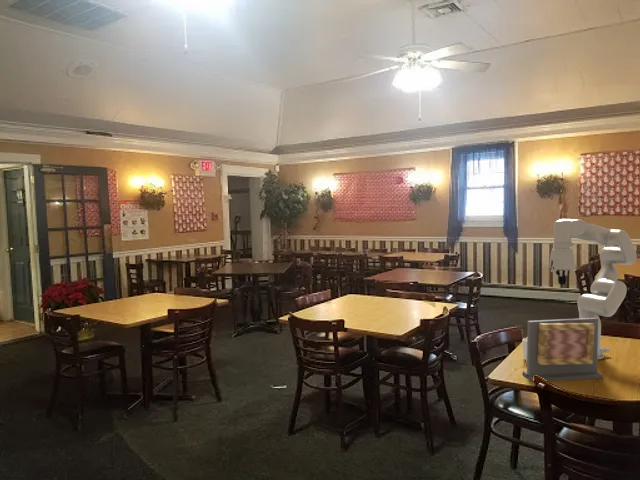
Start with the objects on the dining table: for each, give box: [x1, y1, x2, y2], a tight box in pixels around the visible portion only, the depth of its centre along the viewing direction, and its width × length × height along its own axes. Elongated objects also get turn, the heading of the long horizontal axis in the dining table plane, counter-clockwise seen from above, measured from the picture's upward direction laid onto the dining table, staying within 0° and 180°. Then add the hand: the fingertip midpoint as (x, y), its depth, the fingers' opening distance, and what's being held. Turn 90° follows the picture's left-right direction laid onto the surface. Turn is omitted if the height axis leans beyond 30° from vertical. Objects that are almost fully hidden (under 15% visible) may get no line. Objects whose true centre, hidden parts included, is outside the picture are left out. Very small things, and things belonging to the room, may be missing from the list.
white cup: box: [522, 337, 527, 362], centre depth 246 cm, size 8×8×10 cm
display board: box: [522, 317, 604, 382], centre depth 222 cm, size 32×10×26 cm, turn 95°
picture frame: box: [537, 322, 595, 365], centre depth 219 cm, size 24×3×18 cm, turn 95°
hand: (561, 284), depth 236 cm, fingers closed
